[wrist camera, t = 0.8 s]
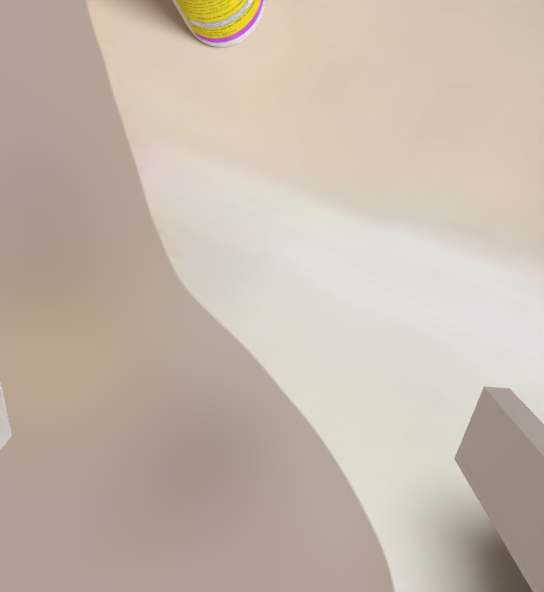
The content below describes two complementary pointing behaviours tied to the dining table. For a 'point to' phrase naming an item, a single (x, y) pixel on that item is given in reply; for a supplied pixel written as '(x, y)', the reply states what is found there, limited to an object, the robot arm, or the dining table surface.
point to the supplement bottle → (221, 19)
